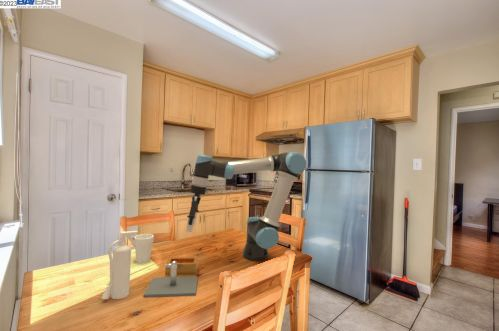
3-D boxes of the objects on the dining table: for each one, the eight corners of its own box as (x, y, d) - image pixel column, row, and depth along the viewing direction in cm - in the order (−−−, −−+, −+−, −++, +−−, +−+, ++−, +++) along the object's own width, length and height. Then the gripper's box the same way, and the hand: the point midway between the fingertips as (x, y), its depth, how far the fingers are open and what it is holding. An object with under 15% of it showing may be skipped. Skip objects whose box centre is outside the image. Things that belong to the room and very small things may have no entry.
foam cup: (145, 265, 120) (146, 240, 120) (129, 263, 121) (130, 238, 121) (156, 258, 129) (157, 234, 129) (141, 256, 131) (142, 233, 131)
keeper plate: (197, 278, 109) (197, 276, 109) (195, 295, 95) (195, 292, 95) (152, 279, 106) (152, 277, 106) (143, 297, 92) (143, 294, 92)
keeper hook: (176, 283, 102) (177, 259, 102) (175, 286, 100) (176, 262, 99) (164, 283, 101) (165, 259, 101) (163, 286, 99) (164, 262, 99)
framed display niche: (197, 268, 119) (197, 257, 119) (195, 276, 111) (196, 263, 111) (168, 269, 117) (168, 257, 117) (165, 277, 109) (165, 264, 109)
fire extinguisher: (96, 298, 89) (102, 233, 90) (128, 287, 99) (133, 228, 99) (103, 305, 85) (110, 237, 86) (136, 293, 95) (142, 231, 95)
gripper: (193, 182, 129) (186, 220, 128) (188, 186, 104) (178, 233, 103) (207, 185, 130) (199, 223, 129) (205, 189, 105) (195, 236, 104)
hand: (190, 227), depth 116 cm, fingers open, 13 cm apart
